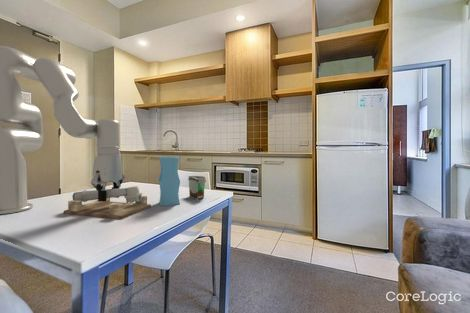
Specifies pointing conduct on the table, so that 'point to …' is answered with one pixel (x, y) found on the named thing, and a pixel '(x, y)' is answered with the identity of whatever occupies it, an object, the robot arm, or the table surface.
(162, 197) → the vase
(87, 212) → the v block cradle
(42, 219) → the table surface
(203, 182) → the food container
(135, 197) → the white electric toothbrush
